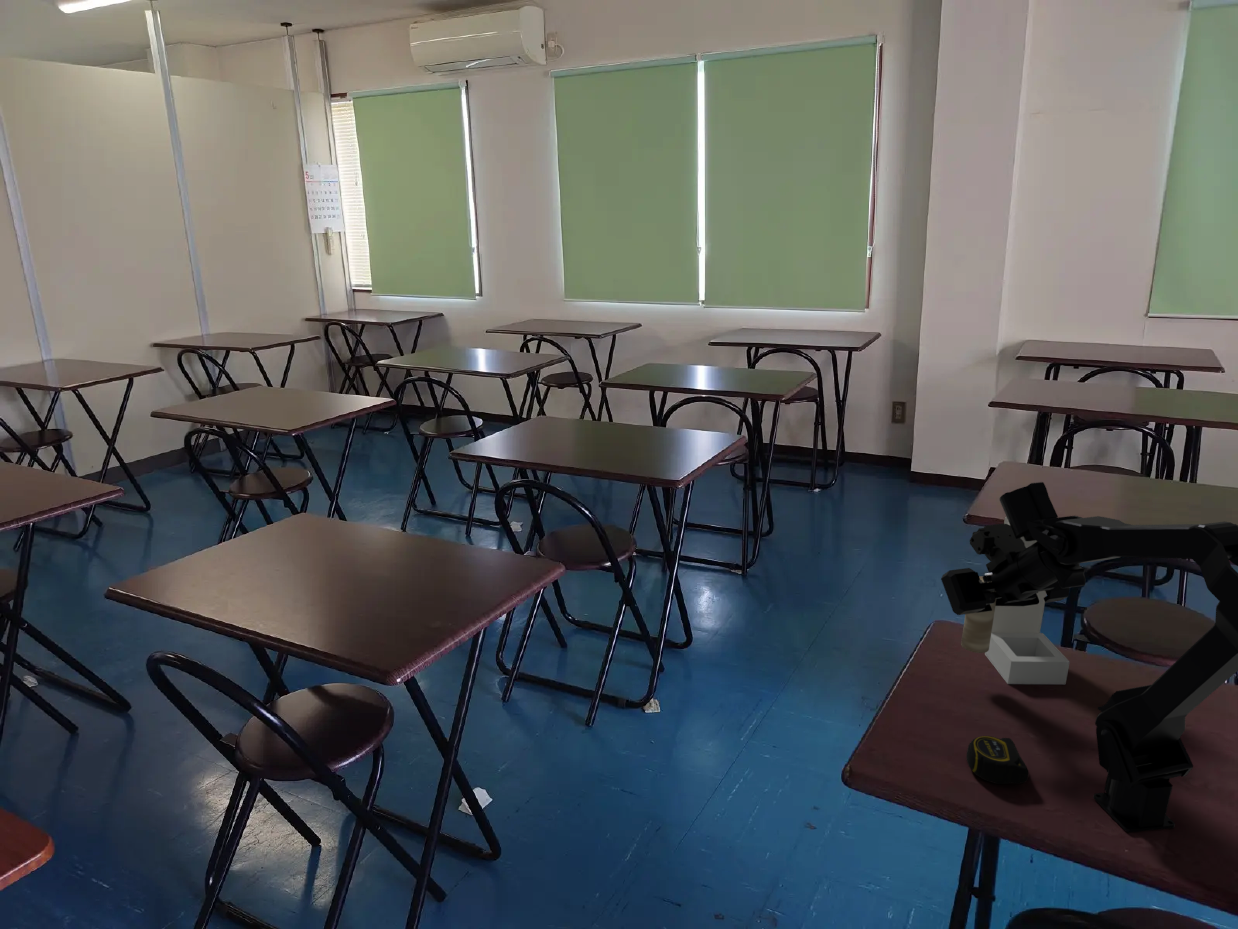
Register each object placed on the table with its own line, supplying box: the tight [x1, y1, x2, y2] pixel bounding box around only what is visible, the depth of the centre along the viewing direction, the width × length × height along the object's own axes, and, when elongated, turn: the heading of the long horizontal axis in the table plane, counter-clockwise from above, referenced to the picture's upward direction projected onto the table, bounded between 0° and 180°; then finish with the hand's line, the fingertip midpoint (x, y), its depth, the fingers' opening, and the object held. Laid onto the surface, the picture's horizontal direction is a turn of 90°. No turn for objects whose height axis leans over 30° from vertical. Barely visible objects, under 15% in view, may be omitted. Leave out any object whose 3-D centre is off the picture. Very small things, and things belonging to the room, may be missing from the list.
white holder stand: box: [984, 516, 1070, 685], centre depth 135 cm, size 10×9×24 cm
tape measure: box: [965, 735, 1030, 785], centre depth 113 cm, size 7×7×4 cm
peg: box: [960, 575, 996, 654], centre depth 131 cm, size 4×4×11 cm
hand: (974, 604), depth 132 cm, fingers closed on peg, 4 cm apart
